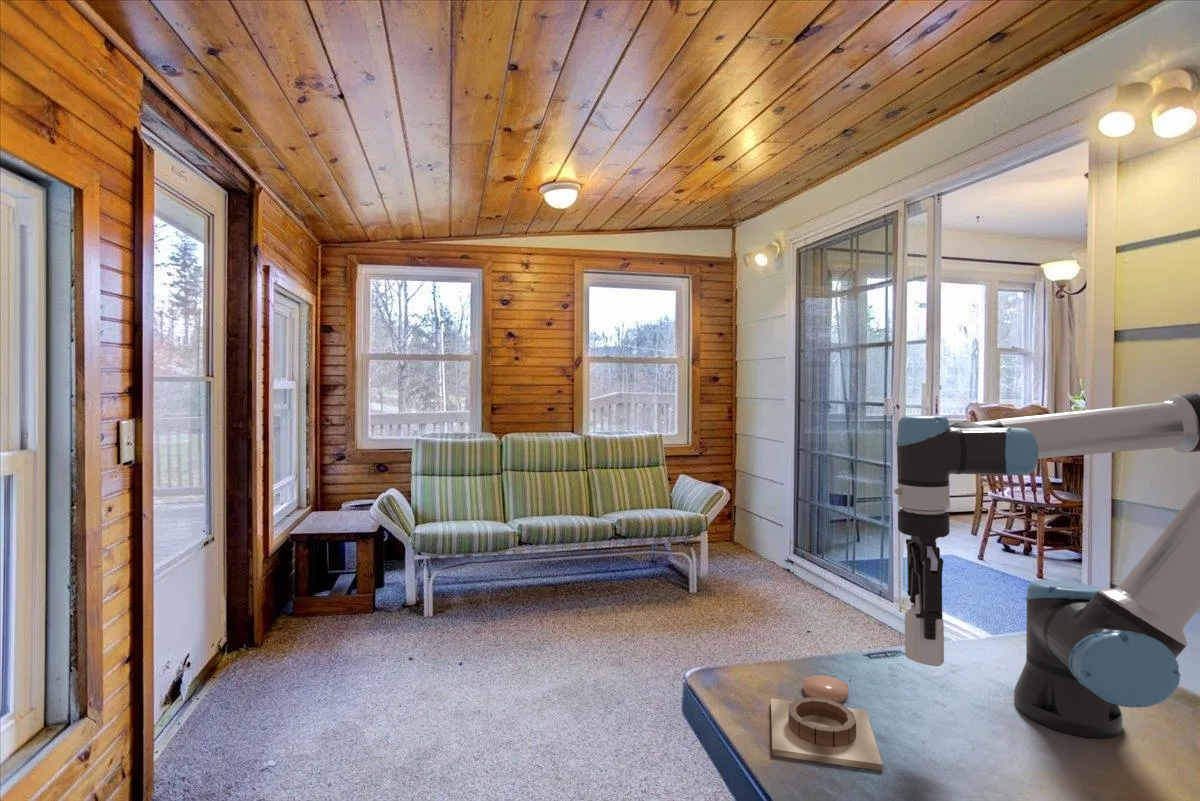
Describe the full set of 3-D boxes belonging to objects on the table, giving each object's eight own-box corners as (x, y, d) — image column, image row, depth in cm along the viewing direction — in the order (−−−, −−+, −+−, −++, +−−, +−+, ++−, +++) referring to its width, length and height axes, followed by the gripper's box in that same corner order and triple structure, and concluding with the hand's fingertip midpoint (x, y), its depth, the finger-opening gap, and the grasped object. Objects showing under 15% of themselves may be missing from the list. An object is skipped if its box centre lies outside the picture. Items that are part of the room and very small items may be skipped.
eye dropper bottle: (922, 651, 105) (921, 581, 105) (948, 666, 100) (948, 592, 99) (900, 655, 104) (900, 584, 104) (926, 669, 99) (925, 595, 98)
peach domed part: (840, 683, 120) (840, 675, 120) (854, 704, 112) (854, 695, 112) (798, 683, 121) (798, 675, 121) (809, 703, 113) (809, 694, 113)
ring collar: (865, 715, 108) (865, 695, 108) (882, 770, 93) (882, 748, 93) (770, 704, 112) (771, 685, 112) (772, 755, 97) (772, 733, 97)
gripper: (887, 499, 111) (889, 628, 111) (910, 520, 94) (911, 672, 94) (934, 500, 109) (935, 631, 109) (965, 521, 92) (966, 677, 92)
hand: (924, 650), depth 102 cm, fingers closed on eye dropper bottle, 4 cm apart
